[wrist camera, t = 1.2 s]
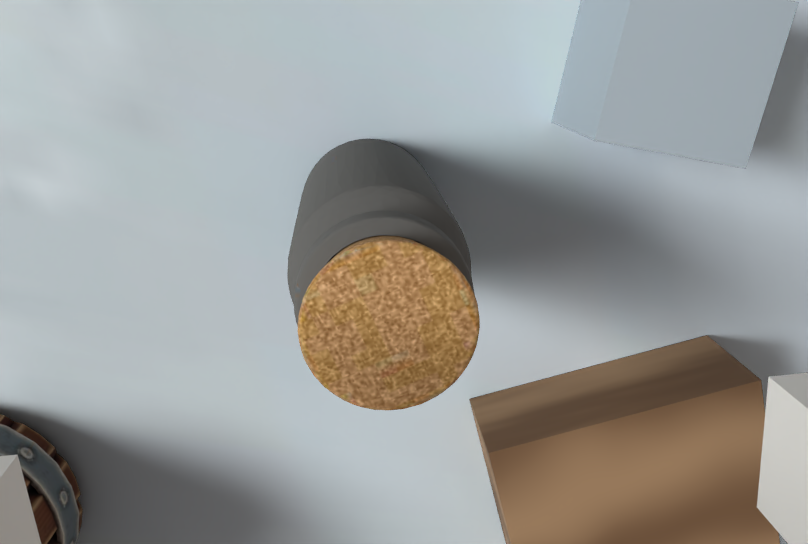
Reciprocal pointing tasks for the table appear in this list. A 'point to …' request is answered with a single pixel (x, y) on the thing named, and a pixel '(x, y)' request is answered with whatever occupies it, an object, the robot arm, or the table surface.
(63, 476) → the mug
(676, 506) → the walnut block
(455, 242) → the bottle
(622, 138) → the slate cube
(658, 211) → the table surface
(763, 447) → the robot arm
